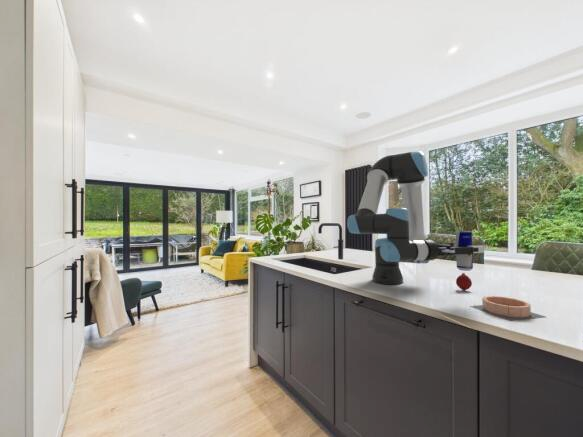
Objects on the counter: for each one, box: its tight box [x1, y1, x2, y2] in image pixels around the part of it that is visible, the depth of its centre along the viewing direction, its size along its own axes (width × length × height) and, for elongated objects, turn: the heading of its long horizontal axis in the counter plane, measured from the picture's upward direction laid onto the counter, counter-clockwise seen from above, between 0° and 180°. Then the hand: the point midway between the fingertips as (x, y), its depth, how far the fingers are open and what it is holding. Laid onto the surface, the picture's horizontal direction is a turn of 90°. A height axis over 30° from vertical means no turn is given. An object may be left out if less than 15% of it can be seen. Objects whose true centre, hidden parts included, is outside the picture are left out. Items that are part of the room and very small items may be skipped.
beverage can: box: [455, 230, 474, 272], centre depth 96 cm, size 5×5×15 cm
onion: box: [455, 272, 473, 292], centre depth 112 cm, size 6×6×8 cm
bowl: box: [482, 295, 532, 318], centre depth 84 cm, size 12×12×3 cm
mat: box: [469, 304, 547, 322], centre depth 84 cm, size 14×14×1 cm
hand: (475, 248), depth 97 cm, fingers closed on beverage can, 5 cm apart
